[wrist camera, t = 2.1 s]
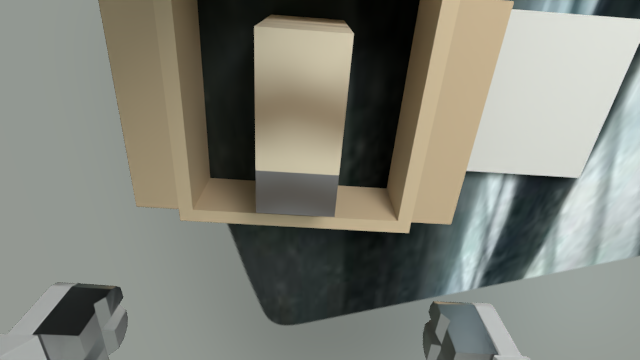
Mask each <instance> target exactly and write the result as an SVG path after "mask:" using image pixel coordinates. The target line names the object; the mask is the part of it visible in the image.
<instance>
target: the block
mask: <svg viewBox="0 0 640 360" xmlns="http://www.w3.org/2000/svg"><path fill="white" fill-rule="evenodd" d="M353 39H354V33H353V32H352V30H351V29H350V28H349V26H348V25H347V24H346V22H345V21H344V20H336V19H323V18H310V17H297V16H284V15H270V16H269V17H267V18H266V19H264V20H263V21H261V22H260V23H258V24H257V25H255V26H254V70H255V168H256V213H269V214H287V215H305V216H323V217H335V208H336V199H337V189H338V180H339V171H340V161H341V152H342V142H343V133H344V124H345V114H346V105H347V95H348V86H349V77H350V67H351V58H352V48H353Z"/></svg>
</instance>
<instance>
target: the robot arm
mask: <svg viewBox="0 0 640 360" xmlns="http://www.w3.org/2000/svg"><path fill="white" fill-rule="evenodd" d="M122 299H123V295H122V291H121V288H120V287H117V286H106V285H94V284H80V283H78V284H74V283H61V282H58V283H55V284H53V285H51V286H50V287H49V288H48V289H47V290H46V291H45V293H44V294H43V295H42V296H41V297H40V298H39V299H38V300H37V301H36V303H35V304H34V305H33V306H32V307H31V308H30V309H29V310H28V311H27V312H26V314H25V315H24V316H23V317H22V318H21V319H20V320H19V321H18V322H17V324H16V325H15V326H14V327H13V328H12V329H11V330H10V331H9V333H7V334H0V360H109V358H108V355H110V354H111V353H113V352H114V351H115V350H117V349H118V348H119V347H120V345H121V343H122V341H123V339H124V336H125V333H126V329H127V322H128V317H127V312H126V310H125V309H124V308H123V307H122V306H121V305H120V302H121V300H122ZM429 315H430V318H431V320H430V321H429V322H427V323H426V324H425V327H424V332H423V348H424V353H425V357H426V360H531V359H530V358H528V357H522V356H521V354H520V353H519V351H518V349H517V347H516V345H515V344H514V342H513V340H512V338H511V337H510V335H509V333H508V331H507V330H506V328H505V326H504V324H503V322H502V321H501V319H500V317H499V315H498V314H497V312H496V310H495V308H494V307H493V306H492V305H491V304H489V303H461V302H459V303H458V302H434V301H433V303H432V304H431V306H430V309H429Z"/></svg>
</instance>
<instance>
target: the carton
mask: <svg viewBox="0 0 640 360" xmlns="http://www.w3.org/2000/svg"><path fill="white" fill-rule="evenodd" d="M98 1H99V6H100V12H101V17H102V23H103V28H104V33H105V38H106V44H107V49H108V55H109V60H110V65H111V71H112V76H113V81H114V87H115V93H116V98H117V104H118V109H119V114H120V120H121V125H122V130H123V136H124V141H125V147H126V152H127V158H128V163H129V168H130V174H131V179H132V185H133V190H134V195H135V201H136V206H137V207H151V208H152V207H153V208H170V209H179V215H180V220H181V221H197V222H198V221H199V222H216V223H234V224H252V225H270V226H288V227H306V228H324V229H342V230H360V231H378V232H397V233H409V229H410V225H411V222H418V223H435V224H451V223H452V219H453V216H454V212H455V208H456V205H457V201H458V198H459V194H460V191H461V187H462V184H463V180H464V177H465V173H466V170H467V166H468V162H469V159H470V155H471V152H472V148H473V145H474V141H475V138H476V134H477V131H478V127H479V124H480V120H481V117H482V113H483V109H484V106H485V102H486V99H487V95H488V92H489V88H490V85H491V81H492V78H493V74H494V71H495V67H496V63H497V60H498V56H499V53H500V49H501V46H502V42H503V39H504V35H505V32H506V28H507V25H508V21H509V18H510V14H511V10H512V7H513V3H514V1H503V0H420V2H419V8H418V14H417V19H416V25H415V31H414V36H413V42H412V48H411V53H410V59H409V65H408V70H407V76H406V82H405V87H404V93H403V99H402V104H401V110H400V116H399V121H398V127H397V133H396V138H395V144H394V150H393V155H392V161H391V167H390V172H389V178H388V184H387V189H386V188H370V187H353V186H338V189H337V199H336V208H335V217H323V216H305V215H287V214H269V213H256V181H252V180H236V179H219V178H210V167H209V154H208V140H207V127H206V113H205V100H204V86H203V73H202V59H201V46H200V32H199V19H198V5H197V0H98Z"/></svg>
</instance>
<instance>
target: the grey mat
mask: <svg viewBox="0 0 640 360" xmlns="http://www.w3.org/2000/svg"><path fill="white" fill-rule="evenodd" d="M639 43H640V19H630V18H617V17H604V16H592V15H579V14H567V13H554V12H541V11H529V10H516V9H512V10H511V14H510V18H509V21H508V25H507V28H506V32H505V35H504V39H503V42H502V46H501V49H500V53H499V56H498V60H497V63H496V67H495V71H494V74H493V78H492V81H491V85H490V88H489V92H488V95H487V99H486V102H485V106H484V109H483V113H482V117H481V120H480V124H479V127H478V131H477V134H476V138H475V141H474V145H473V148H472V152H471V155H470V159H469V162H468V166H467V170H466V171H476V172H492V173H509V174H525V175H541V176H557V177H573V178H579V177H580V175H581V173H582V171H583V168H584V166H585V164H586V162H587V159H588V157H589V155H590V153H591V150H592V148H593V146H594V144H595V141H596V139H597V137H598V135H599V132H600V130H601V128H602V126H603V123H604V121H605V119H606V117H607V114H608V112H609V110H610V108H611V105H612V103H613V101H614V99H615V96H616V94H617V92H618V90H619V87H620V85H621V83H622V81H623V79H624V76H625V74H626V72H627V70H628V67H629V65H630V63H631V61H632V58H633V56H634V54H635V52H636V49H637V47H638V45H639Z"/></svg>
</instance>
